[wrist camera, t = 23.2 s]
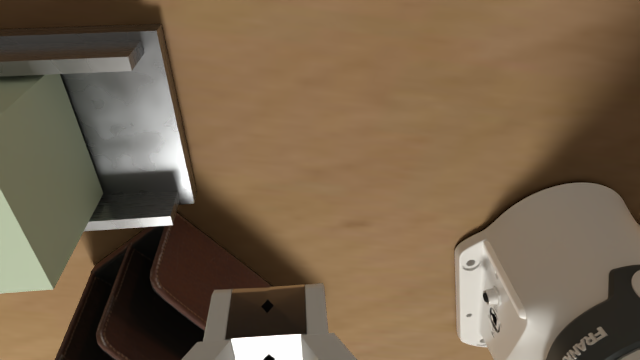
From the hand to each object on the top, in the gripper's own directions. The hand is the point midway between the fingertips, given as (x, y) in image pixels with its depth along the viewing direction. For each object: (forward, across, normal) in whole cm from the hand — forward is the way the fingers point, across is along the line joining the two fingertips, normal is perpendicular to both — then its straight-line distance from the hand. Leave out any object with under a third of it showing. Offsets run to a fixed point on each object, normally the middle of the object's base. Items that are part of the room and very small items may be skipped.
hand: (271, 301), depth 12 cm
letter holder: (+21, +8, +23) cm, 32 cm away
